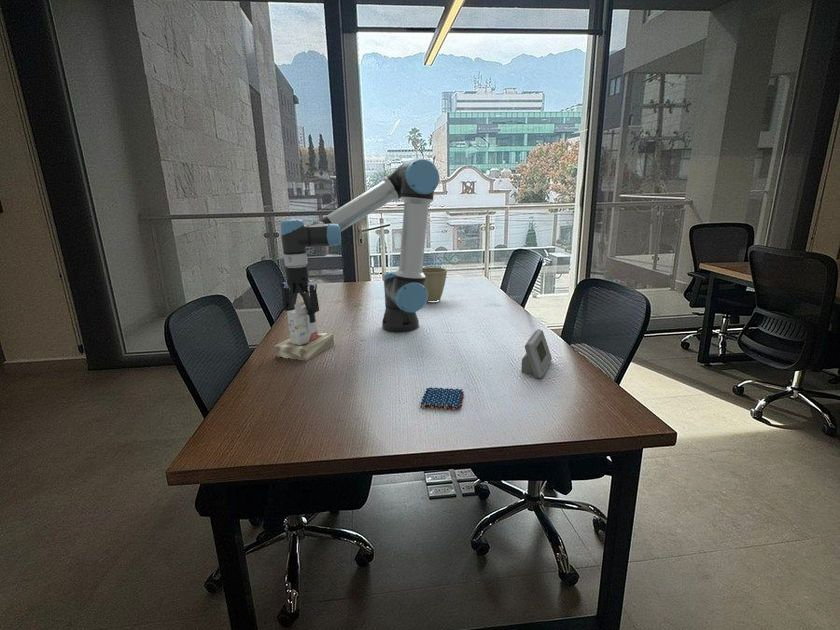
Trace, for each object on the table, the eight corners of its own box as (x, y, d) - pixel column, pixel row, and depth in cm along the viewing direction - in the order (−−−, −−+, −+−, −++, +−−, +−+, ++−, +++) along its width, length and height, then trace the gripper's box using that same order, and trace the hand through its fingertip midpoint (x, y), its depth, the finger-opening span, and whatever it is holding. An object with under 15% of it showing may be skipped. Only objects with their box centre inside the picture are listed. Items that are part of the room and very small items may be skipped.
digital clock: (540, 381, 124) (541, 346, 122) (511, 374, 130) (512, 340, 127) (560, 363, 137) (562, 331, 134) (534, 357, 142) (535, 326, 139)
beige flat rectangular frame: (334, 344, 161) (333, 334, 160) (307, 360, 146) (305, 349, 145) (304, 341, 165) (303, 331, 164) (275, 356, 150) (274, 346, 149)
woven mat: (461, 413, 109) (460, 406, 109) (419, 410, 111) (419, 403, 111) (464, 394, 119) (464, 387, 119) (426, 392, 121) (426, 385, 121)
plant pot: (437, 306, 208) (437, 273, 204) (412, 302, 216) (410, 271, 211) (452, 299, 220) (452, 268, 215) (428, 296, 228) (427, 266, 223)
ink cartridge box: (309, 336, 159) (305, 297, 155) (318, 338, 156) (314, 299, 152) (290, 343, 153) (285, 302, 149) (299, 345, 150) (294, 304, 146)
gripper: (266, 266, 147) (274, 331, 153) (313, 268, 140) (320, 336, 147) (280, 263, 154) (288, 325, 160) (326, 264, 147) (332, 329, 153)
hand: (303, 330), depth 153 cm, fingers closed on ink cartridge box, 6 cm apart
